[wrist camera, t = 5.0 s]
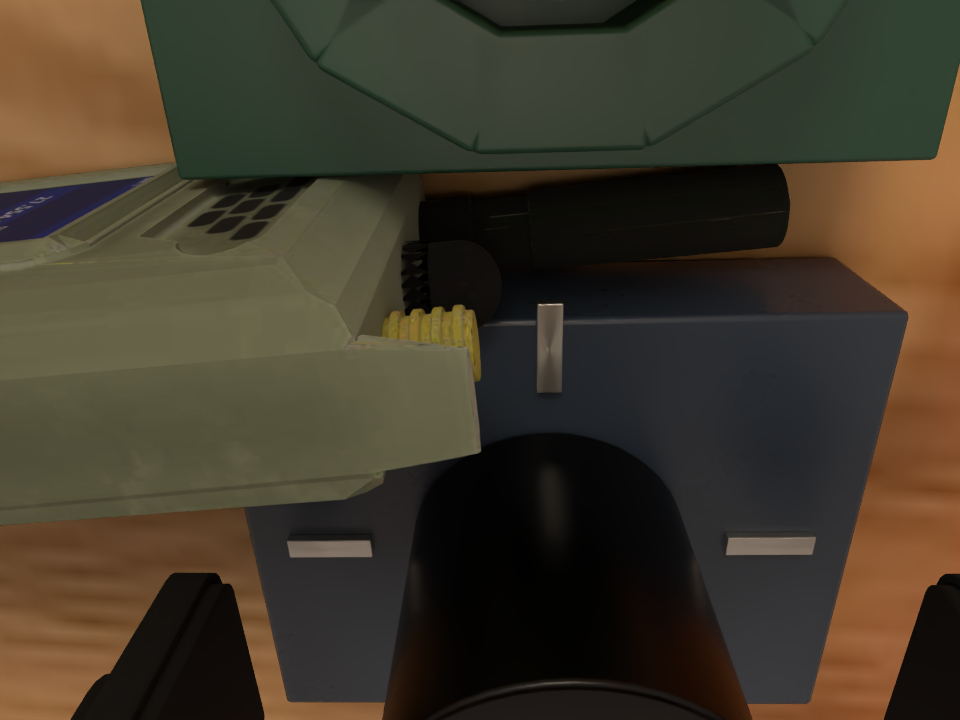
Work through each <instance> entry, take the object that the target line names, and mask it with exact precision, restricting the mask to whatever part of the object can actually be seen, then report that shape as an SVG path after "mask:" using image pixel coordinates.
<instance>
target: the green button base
mask: <svg viewBox="0 0 960 720" xmlns="http://www.w3.org/2000/svg"><path fill="white" fill-rule="evenodd" d="M141 5H142V9H143V14H144V18H145V23H146V27H147V32H148V36H149V41H150V46H151V50H152V55H153V59H154V64H155V68H156V73H157V78H158V82H159V87H160V91H161V96H162V100H163V105H164V110H165V114H166V119H167V123H168V128H169V132H170V137H171V141H172V146H173V151H174V155H175V160H176V164H177V169H178V173H179V177H180V179H183V180H206V179H242V178H279V177H316V176H353V175H389V174H426V173H463V172H499V171H536V170H573V169H610V168H646V167H683V166H720V165H757V164H793V163H830V162H867V161H903V160H931V159H934V158H935V157H936V156H937V153H938V149H939V145H940V141H941V137H942V133H943V128H944V124H945V120H946V116H947V112H948V108H949V104H950V100H951V96H952V92H953V88H954V84H955V80H956V76H957V72H958V68H959V64H960V0H141Z"/></svg>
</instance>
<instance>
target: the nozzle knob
mask: <svg viewBox="0 0 960 720" xmlns="http://www.w3.org/2000/svg"><path fill="white" fill-rule="evenodd" d="M382 720H752V717H751V714H750V711H749V708H748V705H747V703H746V700H745V697H744V694H743V691H742V688H741V685H740V683H739V680H738V677H737V674H736V671H735V668H734V666H733V663H732V660H731V657H730V654H729V651H728V648H727V646H726V643H725V640H724V637H723V634H722V631H721V629H720V626H719V623H718V620H717V617H716V614H715V611H714V609H713V606H712V603H711V600H710V597H709V594H708V591H707V589H706V586H705V583H704V580H703V577H702V574H701V572H700V569H699V566H698V563H697V560H696V557H695V554H694V552H693V549H692V546H691V543H690V540H689V537H688V535H687V532H686V529H685V526H684V523H683V520H682V517H681V515H680V512H679V509H678V506H677V504H676V502H675V500H674V498H673V496H672V494H671V492H670V490H669V489H668V488H667V486H666V485H665V484H664V482H663V481H662V479H661V478H660V477H659V476H658V475H657V474H656V473H655V472H654V471H653V470H652V469H651V468H650V467H648V466H647V465H646V464H644V463H643V462H642V461H640V460H639V459H638V458H636V457H635V456H633V455H631V454H630V453H628V452H626V451H624V450H623V449H621V448H619V447H616V446H614V445H611V444H609V443H607V442H604V441H601V440H597V439H594V438H590V437H587V436H581V435H574V434H568V433H535V434H526V435H521V436H515V437H510V438H507V439H504V440H500V441H497V442H494V443H491V444H489V445H487V446H484V447H482V448H481V452H479V453H477V454H472V455H467V456H466V457H464V458H462V459H461V460H460V461H458V462H457V463H456V464H454V465H453V466H452V467H451V468H449V469H448V470H447V471H446V472H445V473H444V474H443V475H442V476H441V477H440V478H439V479H438V480H437V481H436V483H435V484H434V485H433V487H432V488H431V490H430V491H429V492H428V494H427V495H426V497H425V499H424V501H423V503H422V505H421V507H420V510H419V513H418V516H417V519H416V524H415V529H414V535H413V541H412V547H411V553H410V559H409V565H408V571H407V577H406V582H405V588H404V594H403V600H402V606H401V612H400V618H399V624H398V630H397V636H396V641H395V647H394V653H393V659H392V665H391V671H390V677H389V683H388V689H387V694H386V700H385V706H384V712H383V718H382Z"/></svg>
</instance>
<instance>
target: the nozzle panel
mask: <svg viewBox="0 0 960 720" xmlns="http://www.w3.org/2000/svg"><path fill="white" fill-rule="evenodd" d="M499 271H500V275H501V281H502V294H501V299H500V303H499V306H498V308H497V310H496V312H495V314H494V315H493V316H492V318H491V319H490V320H489V321H488V322H487V323H486V324H484V325H483V326H481V327H479V328H477V329H478V337H479V347H480V361H481V377H480V381H477V382H474V385H475V393H476V402H477V410H478V419H479V428H480V443H481V448H482V447H484V446H487V445H489V444H491V443H494V442H497V441H500V440H504V439H507V438H510V437H515V436H521V435H526V434H535V433H568V434H574V435H581V436H587V437H590V438H594V439H597V440H601V441H604V442H607V443H609V444H611V445H614V446H616V447H619V448H621V449H623V450H624V451H626V452H628V453H630V454H631V455H633V456H635V457H636V458H638V459H639V460H640V461H642V462H643V463H644V464H646V465H647V466H648V467H650V468H651V469H652V470H653V471H654V472H655V473H656V474H657V475H658V476H659V477H660V478H661V479H662V481H663V482H664V484H665V485H666V486H667V488H668V489H669V490H670V492H671V494H672V496H673V498H674V500H675V502H676V504H677V506H678V509H679V512H680V515H681V517H682V520H683V523H684V526H685V529H686V532H687V535H688V537H689V540H690V543H691V546H692V549H693V552H694V554H695V557H696V560H697V563H698V566H699V569H700V572H701V574H702V577H703V580H704V583H705V586H706V589H707V591H708V594H709V597H710V600H711V603H712V606H713V609H714V611H715V614H716V617H717V620H718V623H719V626H720V629H721V631H722V634H723V637H724V640H725V643H726V646H727V648H728V651H729V654H730V657H731V660H732V663H733V666H734V668H735V671H736V674H737V677H738V680H739V683H740V685H741V688H742V691H743V694H744V697H745V700H746V703H747V704H807V703H809V702H810V700H811V697H812V693H813V689H814V685H815V681H816V677H817V673H818V669H819V665H820V661H821V657H822V654H823V650H824V646H825V642H826V638H827V634H828V630H829V626H830V622H831V618H832V615H833V611H834V607H835V603H836V599H837V595H838V591H839V587H840V583H841V579H842V575H843V572H844V568H845V564H846V560H847V556H848V552H849V548H850V544H851V540H852V536H853V532H854V529H855V525H856V521H857V517H858V513H859V509H860V505H861V501H862V497H863V493H864V489H865V486H866V482H867V478H868V474H869V470H870V466H871V462H872V458H873V454H874V450H875V446H876V443H877V439H878V435H879V431H880V427H881V423H882V419H883V415H884V411H885V407H886V403H887V400H888V396H889V392H890V388H891V384H892V380H893V376H894V372H895V368H896V364H897V360H898V357H899V353H900V349H901V345H902V341H903V337H904V333H905V329H906V325H907V321H908V313H907V312H906V311H905V310H904V309H902V308H901V307H900V306H898V305H897V304H896V303H894V302H893V301H892V300H890V299H889V298H888V297H886V296H885V295H884V294H882V293H881V292H880V291H878V290H877V289H876V288H874V287H873V286H872V285H870V284H869V283H868V282H866V281H865V280H864V279H862V278H861V277H860V276H858V275H857V274H856V273H854V272H853V271H852V270H850V269H849V268H848V267H846V266H845V265H844V264H842V263H841V262H840V261H838V260H837V259H835V258H805V259H759V260H714V261H668V262H622V263H605V264H595V265H585V266H574V267H564V268H554V269H544V270H533V266H528V267H518V268H508V269H499ZM428 283H429V282H428ZM427 294H428V293H426V294H425V295H427ZM429 294H430V293H429ZM423 305H424V306H427V305H429V304H423ZM430 305H431V304H430ZM464 457H466V456H462V457H458V458H453V459H447V460H442V461H436V462H431V463H425V464H420V465H414V466H408V467H403V468H397V469H392V470H386V472H385V477H384V481H383V483H382V484H380V485H379V486H377V487H375V488H373V489H371V490H370V491H368V492H365V493H362V494H359V495H356V496H353V497H350V498H347V499H343V500H330V501H317V502H304V503H290V504H277V505H264V506H251V507H244V509H245V514H246V518H247V523H248V527H249V531H250V536H251V540H252V545H253V549H254V554H255V558H256V563H257V567H258V571H259V576H260V580H261V585H262V589H263V594H264V598H265V603H266V607H267V611H268V616H269V620H270V625H271V629H272V634H273V638H274V643H275V647H276V651H277V656H278V660H279V665H280V669H281V674H282V678H283V683H284V687H285V691H286V696H287V700H288V701H289V702H382V703H385V700H386V694H387V689H388V683H389V677H390V671H391V665H392V659H393V653H394V647H395V641H396V636H397V630H398V624H399V618H400V612H401V606H402V600H403V594H404V588H405V582H406V577H407V571H408V565H409V559H410V553H411V547H412V541H413V535H414V529H415V524H416V519H417V516H418V513H419V510H420V507H421V505H422V503H423V501H424V499H425V497H426V495H427V494H428V492H429V491H430V490H431V488H432V487H433V485H434V484H435V483H436V481H437V480H438V479H439V478H440V477H441V476H442V475H443V474H444V473H445V472H446V471H447V470H448V469H449V468H451V467H452V466H453V465H454V464H456V463H457V462H458V461H460V460H461V459H462V458H464Z"/></svg>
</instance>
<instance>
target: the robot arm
mask: <svg viewBox="0 0 960 720" xmlns="http://www.w3.org/2000/svg"><path fill="white" fill-rule="evenodd" d="M71 720H264V711H263V707H262V703H261V698H260V694H259V690H258V686H257V682H256V678H255V674H254V670H253V666H252V662H251V658H250V654H249V650H248V646H247V642H246V638H245V634H244V630H243V626H242V622H241V618H240V614H239V610H238V606H237V602H236V598H235V594H234V590H233V588H232V586H231V585H230V584H222V581H221V579H220V576H219V575H218V574H217V573H173V574H172V575H170V576H169V578H168V579H167V580H166V581H165V583H164V585H163V586H162V588H161V590H160V591H159V593H158V595H157V596H156V598H155V600H154V601H153V603H152V605H151V606H150V608H149V610H148V611H147V613H146V615H145V616H144V618H143V620H142V621H141V623H140V625H139V626H138V628H137V630H136V631H135V633H134V635H133V636H132V638H131V640H130V641H129V643H128V645H127V646H126V648H125V650H124V651H123V653H122V655H121V656H120V658H119V660H118V661H117V663H116V665H115V666H114V668H113V670H112V671H111V673H110V674H105V675H104V676H102V677H101V678H100V679H98V680H97V681H96V682H95V683H94V684H93V686H92V687H91V688H90V690H89V691H88V692H87V694H86V695H85V697H84V699H83V700H82V702H81V704H80V705H79V707H78V708H77V710H76V712H75V713H74V715H73V717H72V718H71ZM884 720H960V574H944V575H943V576H942V577H940V579H939V581H938V583H937V585H931V586H930V587H928V589H927V591H926V592H925V595H924V598H923V602H922V605H921V608H920V611H919V614H918V617H917V620H916V623H915V626H914V629H913V632H912V635H911V638H910V641H909V644H908V647H907V650H906V653H905V656H904V659H903V662H902V665H901V668H900V672H899V675H898V678H897V681H896V684H895V687H894V690H893V693H892V696H891V699H890V702H889V705H888V708H887V711H886V714H885V717H884Z"/></svg>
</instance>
